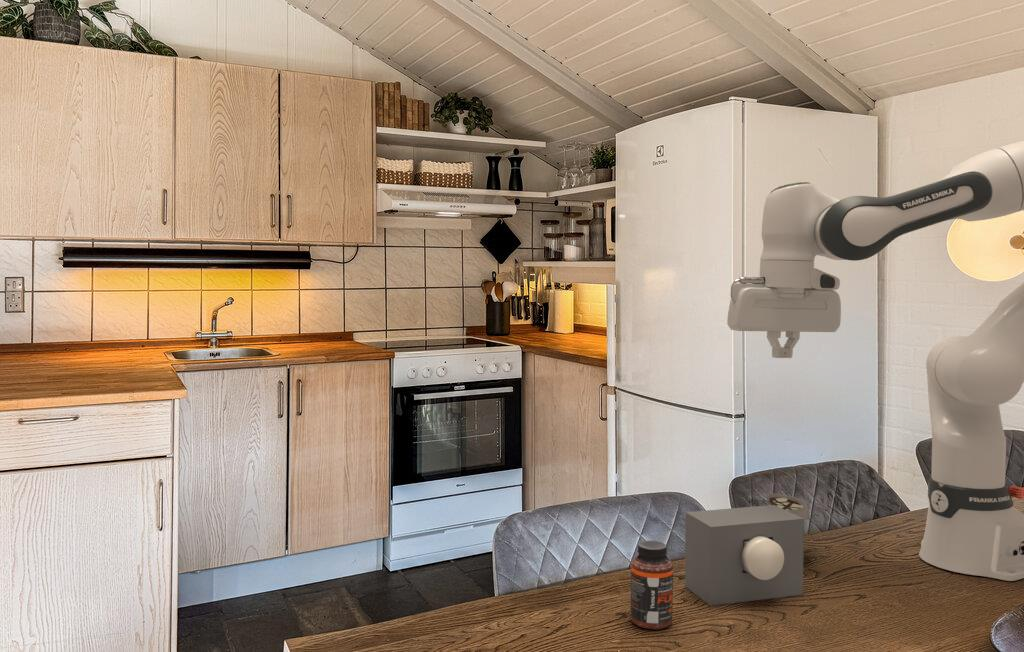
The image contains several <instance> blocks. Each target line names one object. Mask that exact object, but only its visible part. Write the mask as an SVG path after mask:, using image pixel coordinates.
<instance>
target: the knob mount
mask: <svg viewBox="0 0 1024 652" xmlns="http://www.w3.org/2000/svg"><path fill="white" fill-rule="evenodd" d="M759 536H763V537H767V538H769V539H771V540H772V541H774V542H776V543H778V544H779V545H780V547H781V548H782V550H783V553H784V564H783V567H782V569H781V571H780V572H779V573H778V574H777V575H776V576H775V577H773V578H772V579H769V580H761V579H758V578H756V577H755V576H753V575H752V574H750V573H748V572H747V571H745V570H743V564H742V552H743V540H746V539H753V538H755V537H759ZM804 536H805V527H804V518H801V517H799V516H797V515H795V514H793V513H791V512H788V511H786V510H784V509H782V508H780V507H777V506H775V505H769V504H768V505H759V506H758V505H757V506H756V505H755V506H744V507H734V508H733V507H731V508H719V509H710V510H698V511H697V510H696V511H695V510H694V511H686V512H685V535H684V537H685V544H684V545H685V546H684V547H685V549H684V550H685V551H684V552H685V555H684V556H685V557H684V559H685V562H684V564H685V565H684V587H685V588H687V589H688V590H690V592H692V594H694V595H696V596H697V597H698V598H700V599H701V600H702V601H703V602H705V603H706V604H707V605H708V606H712V607H713V606H719V605H728V604H737V603H745V602H751V601H752V602H753V601H754V602H755V601H761V600H770V599H778V598H787V597H796V596H803V594H804V593H803V592H804V548H805V546H804V541H805V540H804V539H805V538H804Z"/></svg>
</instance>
